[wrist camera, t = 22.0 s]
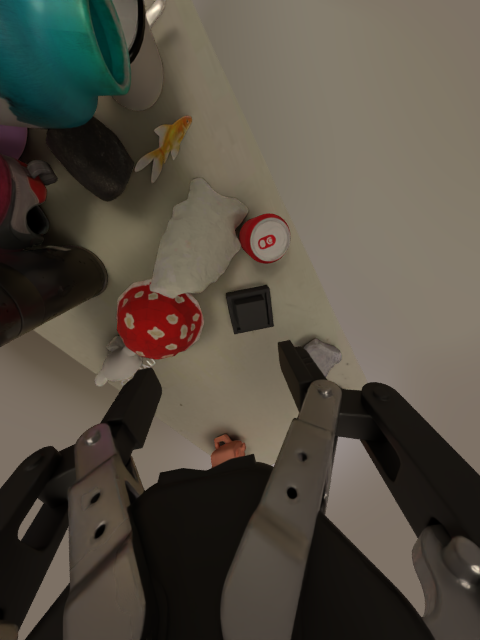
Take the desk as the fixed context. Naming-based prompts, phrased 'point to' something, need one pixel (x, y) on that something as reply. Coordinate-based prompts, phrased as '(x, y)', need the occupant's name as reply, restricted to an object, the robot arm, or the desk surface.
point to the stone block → (323, 355)
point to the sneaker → (23, 203)
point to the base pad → (245, 294)
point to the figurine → (119, 363)
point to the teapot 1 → (12, 140)
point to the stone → (93, 157)
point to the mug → (141, 53)
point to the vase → (59, 61)
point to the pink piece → (226, 450)
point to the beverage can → (265, 238)
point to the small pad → (251, 312)
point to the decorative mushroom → (157, 321)
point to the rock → (197, 241)
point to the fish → (165, 145)
